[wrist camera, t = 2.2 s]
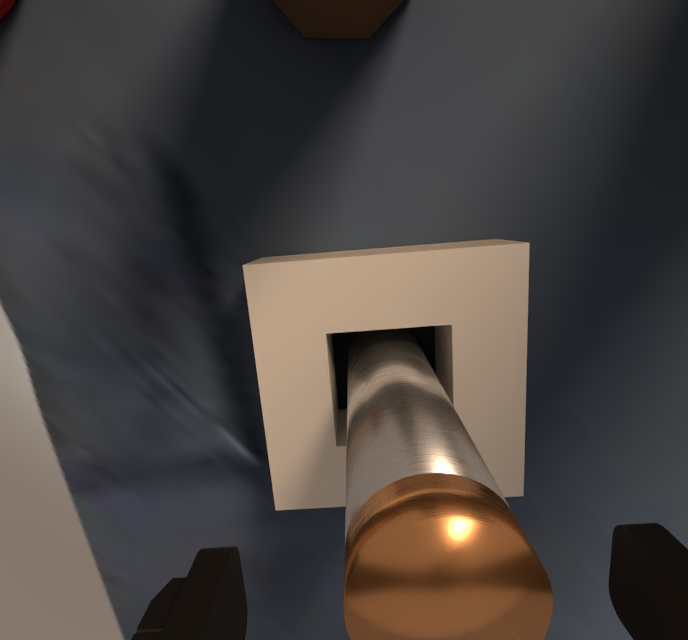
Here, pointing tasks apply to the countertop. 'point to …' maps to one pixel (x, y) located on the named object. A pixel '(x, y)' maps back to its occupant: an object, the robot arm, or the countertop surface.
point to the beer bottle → (337, 16)
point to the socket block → (377, 314)
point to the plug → (427, 513)
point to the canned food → (5, 6)
